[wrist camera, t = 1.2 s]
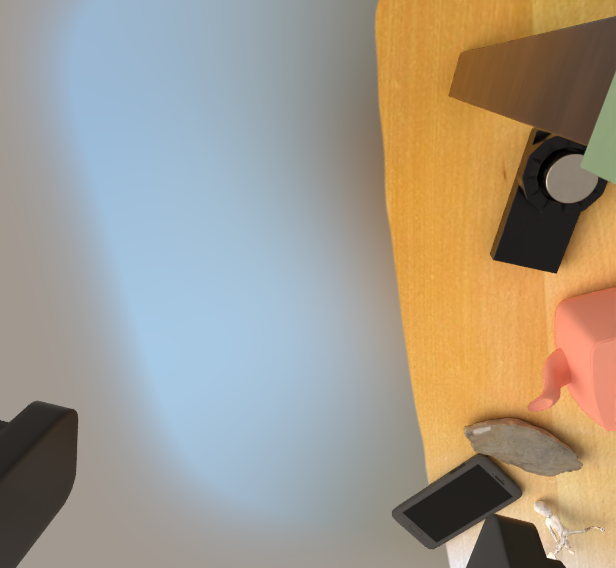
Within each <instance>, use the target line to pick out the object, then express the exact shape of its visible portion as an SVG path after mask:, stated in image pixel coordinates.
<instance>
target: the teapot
mask: <svg viewBox="0 0 616 568" xmlns="http://www.w3.org/2000/svg"><path fill="white" fill-rule="evenodd" d="M555 345H556V351H554V352H553V353H552V354H551V355H550V356H549V357H548V358H547V359H546V361H545V363H544V366H543V383H544V388H543V392H542V394H541V395H540V396H539V397H538V398H536V399H535V400H533V401H532V402H531V403H530V404H529V405H528V406H527V409H528V410H529V411H533V412H535V411H541V410H545V409H547V408H550V407H551V406H553V405H554V404H555V403H556V402H557V401H558V399H559V397H560V388H561V387H562V386H564V385H566V386H567V388H568V390H569V392H570V394H571V396H572V397H573V399H574V400H575V401H576V403H577V404H578V405H579V407H580V408H581V409H582V410H583V411H584V412H585V413H586V414H587V415H588V416H589V417H590V418H592V419H593V420H594V421H595V422H596V423H598V424H599V425H600V426H602V427H603V428H604V429H606V430H608V431H616V287H613V288H609V289H604V290H599V291H595V292H591V293H587V294H583V295H579V296H575V297H572V298H569V299H566V300H563V301H561V302H560V303H559V305H558V307H557V309H556V315H555Z"/></svg>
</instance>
